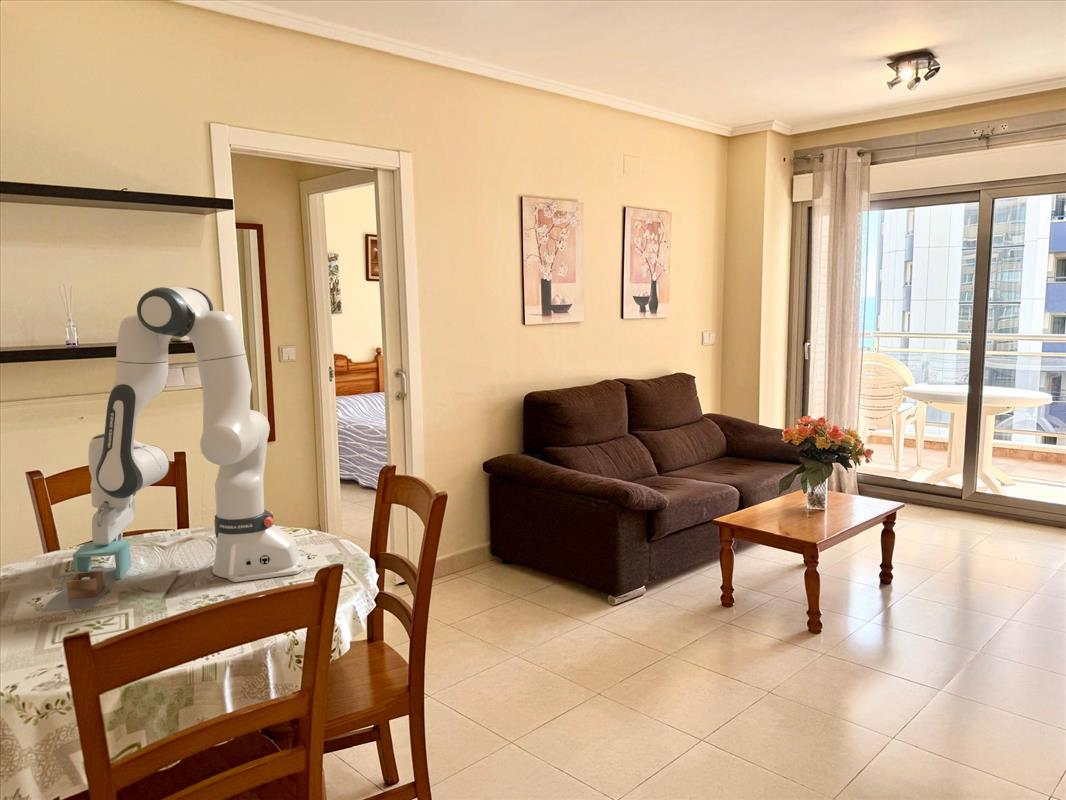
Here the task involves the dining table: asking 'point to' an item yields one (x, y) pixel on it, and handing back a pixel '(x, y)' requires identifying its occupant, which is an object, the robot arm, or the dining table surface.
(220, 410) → the robot arm
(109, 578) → the housing base
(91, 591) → the block
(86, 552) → the cover
